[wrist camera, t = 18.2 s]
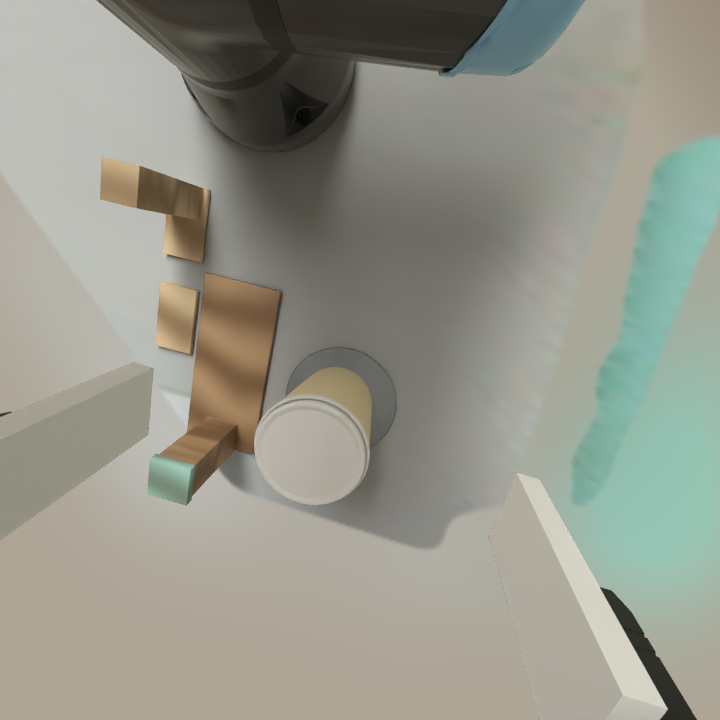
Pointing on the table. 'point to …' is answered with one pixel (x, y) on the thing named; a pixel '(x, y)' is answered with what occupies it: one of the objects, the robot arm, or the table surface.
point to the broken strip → (165, 237)
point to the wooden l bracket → (221, 386)
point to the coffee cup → (317, 438)
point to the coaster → (362, 367)
